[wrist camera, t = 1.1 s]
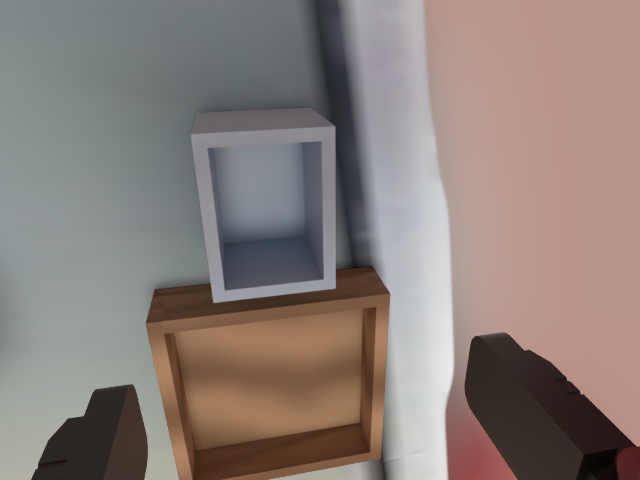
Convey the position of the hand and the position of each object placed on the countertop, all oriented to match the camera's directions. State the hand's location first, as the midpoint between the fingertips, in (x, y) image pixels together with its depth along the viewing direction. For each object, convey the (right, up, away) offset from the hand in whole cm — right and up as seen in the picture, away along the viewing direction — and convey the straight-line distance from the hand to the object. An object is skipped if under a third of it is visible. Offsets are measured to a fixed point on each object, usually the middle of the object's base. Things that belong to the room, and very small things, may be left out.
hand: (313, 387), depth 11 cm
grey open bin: (-3, +7, +15) cm, 17 cm away
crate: (-3, -5, +20) cm, 21 cm away
